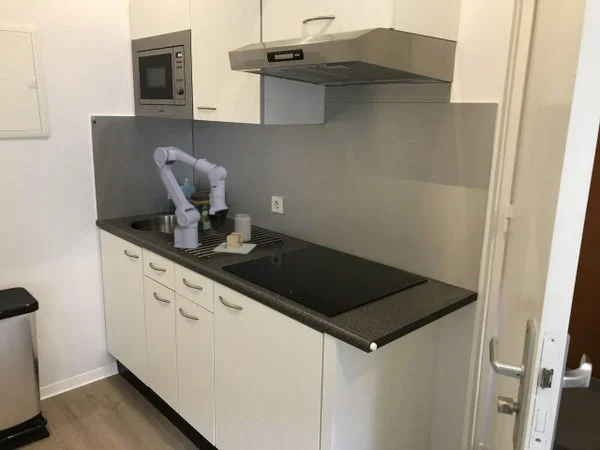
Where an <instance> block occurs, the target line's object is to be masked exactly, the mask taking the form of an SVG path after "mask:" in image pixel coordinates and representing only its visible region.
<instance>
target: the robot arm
mask: <svg viewBox="0 0 600 450" xmlns="http://www.w3.org/2000/svg"><path fill="white" fill-rule="evenodd" d="M152 158H153V160H154V162H155V169H156V173H157V175H158V176H159V179H160V180H161V182H162V184H163V186H164V187H165V190H166V192H167V194H168V195H169V197H170V199H171V200H172V203H173V205H174V206H175V208H176V209H175V211H174V214H175V218H176V222H177V226H175V229H174V233H173V234H174V246H173V247H174V248H180V249H181V248H182V249H196V248H198V247H200V246H202V243H201V242H199V238H198V237H199V235H198V234H199V232H198V226H197V225H198V222H199V220H200V213H199V212H198V211H197V210H196V209H195V208H194V206H193V205H191V202H189V201H188V199H187V198H186V196H185V194H184V192H183V191H182V188H181V187H180V185H179V183H178V182H177V179H176V177H175V176H174V174H173V171H172V168H173V166H174V164H175V163H176V161H180V162H182V163H183V164H184V163H185V164H187V165H189V166H191V167H192V168H194V171H195V172H196V173H199V174H201V175H203V176H205V177H206V178H208V180H209V181H210V206H209V213H207V216H208V218H209V220H210V228H211V230H212V231H218V230H219V227H225V223H226V218H227V217H228V216H227V215H228V213H229V211H230V210H229V208H228V206H227V204H226V201H225V200H226V198H225V197H226V188H225V187H226V186H225V185H226V183H225V181H226V180H225V179H226V178H227V176H228V171H227V170H226V168H224V166H221V165H220V166H217V164H215V163H211V162H209V161H208V160H207V158H199V159H197V158H196V157H193V156H192V155H190V154H188V153H186V152H185V151H183V150H181V149H180V148H177V147H175V146H165V147H164V146H163V147H162V146H161V147H160V146H159V147H157V148H155V150H154V152H153V155H152Z"/></svg>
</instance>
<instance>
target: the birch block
mask: <svg viewBox="0 0 600 450" xmlns="http://www.w3.org/2000/svg"><path fill="white" fill-rule="evenodd" d="M226 242H227V249H230V250H238V249H239V248H240V247H241V246H242V245H243V243H244V242H243V233H234V232H231V233H230V234H228V235H227V236H226Z"/></svg>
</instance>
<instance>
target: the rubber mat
mask: <svg viewBox="0 0 600 450" xmlns="http://www.w3.org/2000/svg"><path fill="white" fill-rule="evenodd" d="M256 246H257V244H255V243H245V242H243V245H242V246H241V247H240V248H239V249H238V250H230V249H227V241H226V242H225V241H223V242H222V243H221V244H219V245H218V246H216V247H215V248H213V249H212V252H215V253H216V252H219V253H233V254H243V255H247V254H248V253H250V252H251V251H252V250H253V249H254V248H255V247H256Z"/></svg>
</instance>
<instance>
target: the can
mask: <svg viewBox="0 0 600 450" xmlns="http://www.w3.org/2000/svg"><path fill="white" fill-rule="evenodd" d="M233 220H234V222H233V225H234V227H233V229H234V233H243V243H246V242H249V241H250V240H252V235H251V234H252V218H251V217H250V215H249V214H247V213H239V214H236V215H235V217H234V219H233Z"/></svg>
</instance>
